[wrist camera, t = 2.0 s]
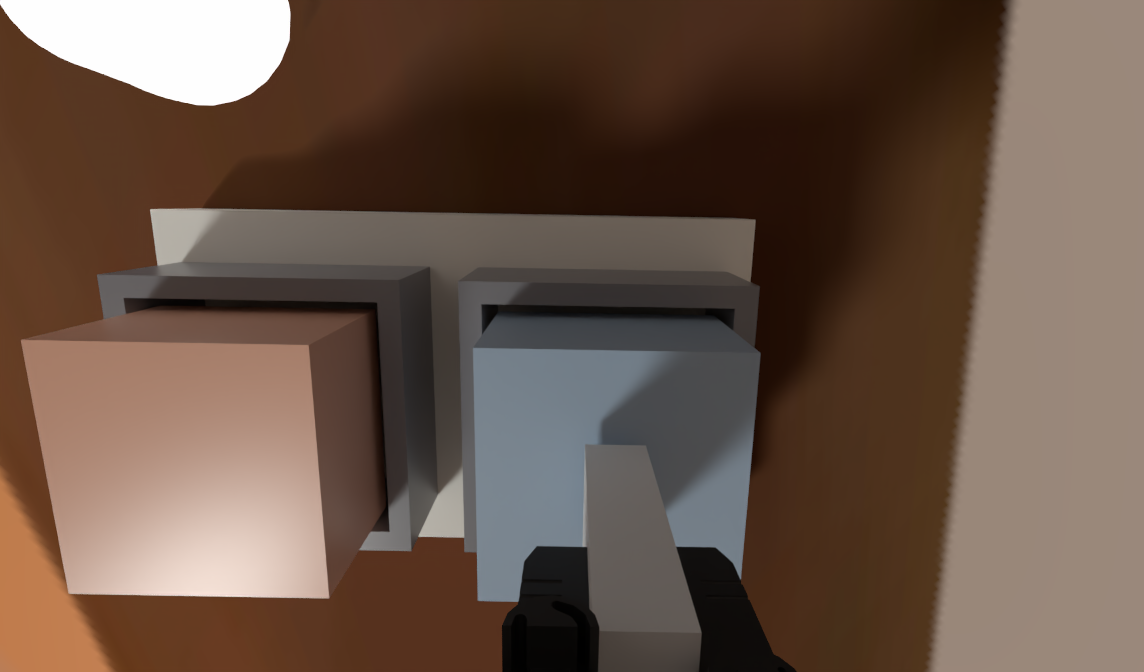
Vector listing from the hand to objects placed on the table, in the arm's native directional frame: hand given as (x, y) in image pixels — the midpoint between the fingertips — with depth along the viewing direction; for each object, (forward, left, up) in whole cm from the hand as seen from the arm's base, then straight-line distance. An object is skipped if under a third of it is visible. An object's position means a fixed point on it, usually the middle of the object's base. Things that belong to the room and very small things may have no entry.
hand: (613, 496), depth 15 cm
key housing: (0, -6, -12) cm, 13 cm away
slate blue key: (0, 0, -5) cm, 5 cm away
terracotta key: (0, -11, -6) cm, 12 cm away
